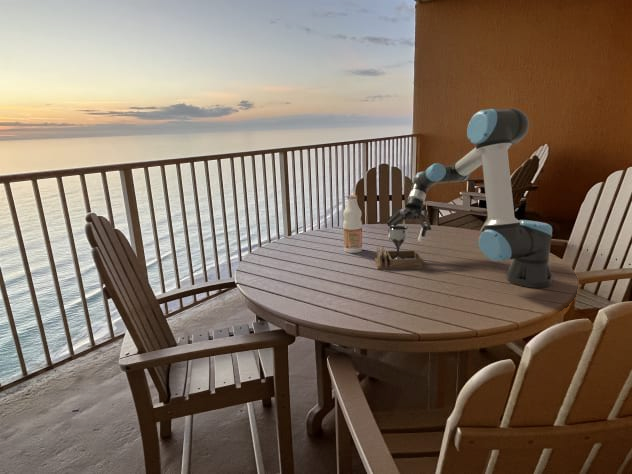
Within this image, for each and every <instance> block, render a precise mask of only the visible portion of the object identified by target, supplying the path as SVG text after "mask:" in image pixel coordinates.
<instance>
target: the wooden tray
mask: <svg viewBox="0 0 632 474" xmlns="http://www.w3.org/2000/svg"><path fill="white" fill-rule="evenodd" d="M393 257H397V250H385V247H383V246H382V247H381V250H380V247H376V257H374V261H375V264H376V267H377V270H408V269H409V270H411V269H412V270H413V269H416V270H417V269H419V270H420V269H423V258H422V257H421V256H420V254H419V253H418V252H417V250H415V249H413V250H410V249H409V250H399V257H401V258H404V259H396V260H392V259H391V258H393Z"/></svg>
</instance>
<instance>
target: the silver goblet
mask: <svg viewBox="0 0 632 474" xmlns="http://www.w3.org/2000/svg"><path fill="white" fill-rule="evenodd" d="M389 227H390V226H389ZM389 227H388V230H389V232H388V234H389V233H390V238H391V240H390V241H391V242H392V243H393V245H395V247H396V251H397V257H393V258H391V259H392V260H396V259H404V258H401V257H399V251H400V248H401V247H402V245H403V244H404V242H406V240H407V238H408V229H409V228H408V227H407V226H405V225H396V226H391V227H390V228H389Z"/></svg>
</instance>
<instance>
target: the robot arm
mask: <svg viewBox="0 0 632 474" xmlns="http://www.w3.org/2000/svg"><path fill="white" fill-rule="evenodd" d="M529 129H530V120H529V118H528V116H527V115H526V113H525V112H523V111H522V110H520V109H516V108H489V109H488V108H487V109H481V110H479V111H477V112H476V113H474V114H473V116H472V117H471V119H470V120H469V122H468V124H467V128H466V131H467V132H466V136H467V139H468V141H470V143H471V144H474V145H475V147H474V148H472V149H471V150H470V151H469V152H468V153H467V154H465V155H464V156H463V157H462V158H460V159H459V160H458V161H456V162H455V163H454V164H453V165H443V164H441V163H438V162H436V163H433V164H431V165H430V166H429V167H427V168H426V169H425V170H424V171H420V172H419V171H418V172H417V173H416V174H415V176H414V178H413V181H412V185H411V189H410V192H409V195H408V197H407V200H406V203H405V208H404V209H402V208H401V207H398V208H397V210H396V212H395V213H394V214H393V215H392V216H391V217H390V218H389V219H388V220H387V221H386V225H387V226H388V230H387V231H388V235H387V238H388V240H389V241H391V238H390V233H389V228H390V227H391V226H399V225H400V223H402V222H403V221H406V220H417V221H418V223H419V224H420V226H421V227H420V231H419V235H418V237H417V243H418V244H419V245H420V244H421V243H422V241H423V238H424V237H425V236H426V233H427V231H432V226H431V223H430V220H429V212H428V210H427V209H424V210H423V208H424V204H425V200H426V197H427V194H428V191H429V189H430V188H432V187H433V186H435V185H437V184H446V183H447V184H448V183H461V182H465V181H467V180H468V179H469V178H470V175H471V173H472V172H474V171H475V170H476V169H478V168H480V166H482V173H483V183H484V184H483V185H484V192H485V193H484V194H485V201H486V211H487V220H486V221H485V223H484V224H483V226H484V231H482V232H481V233H480V235H479V237H478V245H479V248H480V250H481V253H482V254H483V255H484V256H485V257H486V258H487V259H488V260H491V261H492V262H506V261H509V260H512V261H511V263H510V265H509V267H508V269H507V271H506V277H505V278H506V280H507V281H508V282H510V283H512V284H514V285H516V286H521V287H525V288H535V289H536V288H537V289H538V288H547V287H550V286H551V285H552V281H553V280H552V279H553V278H552V273H551V268H550V265H549V260H550V251H551V243H552V237H553V227H552V225H551V224H550V223H549V224H548V223H546V222H541V221H535V220H530V219H529V220H528V219H519V220H518V218H516V217H515V209H514V201H513V200H514V199H513V192H512V191H513V189H512V182H511V180H512V179H511V172H510V171H511V170H510V161H509V160H510V159H509V151H508V150H509V149H511V148H512V147H514V146H515V145H517V144H518V143H519V142H520V141H521V140H523V138H524V137H525V136H527V133H528V131H529ZM421 215H423V217H424V219H425V222H426V225H425V222H423V220H422V218H421V217H420V216H421Z"/></svg>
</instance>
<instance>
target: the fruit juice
mask: <svg viewBox="0 0 632 474" xmlns="http://www.w3.org/2000/svg"><path fill="white" fill-rule="evenodd" d="M346 199H347V203H346V206H345V208H344V209H343V212H342V213H343V214H342V216H343V223H342V233H343V237H342V239H343V250H344V252H346V253H348V254H349V253H350V254H353V253H354V254H355V253H360V252H362V251H363V222H362V219H361V218H362V214H363V213H362V210H361V209H360V206H359V205H358V195H356V194H351V195H350V194H349V195H347V197H346Z"/></svg>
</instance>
